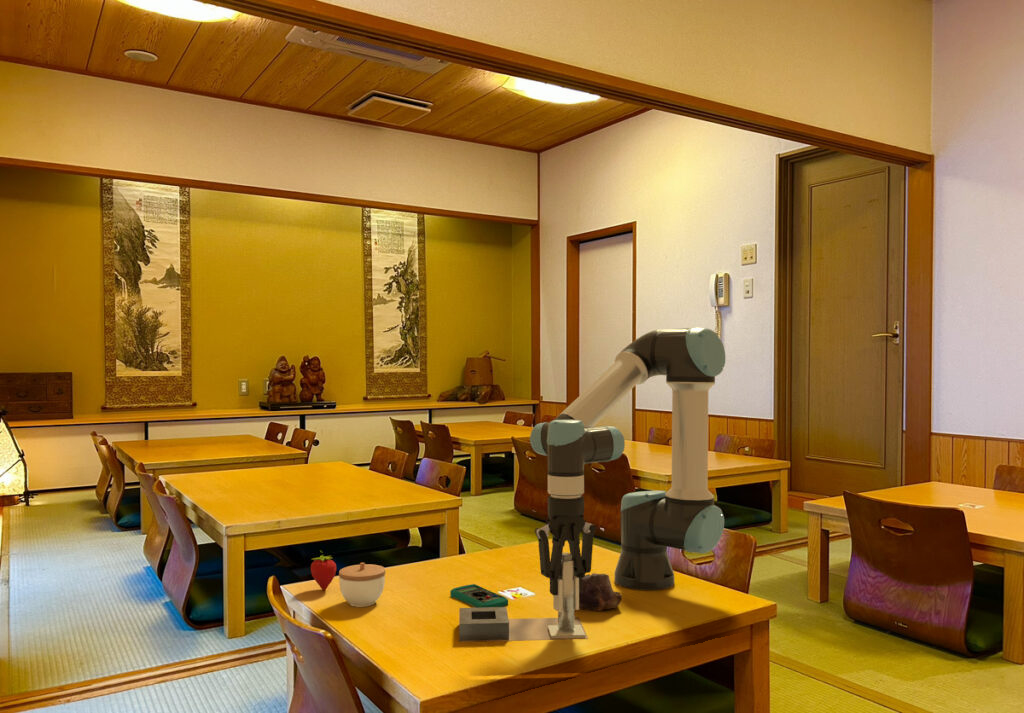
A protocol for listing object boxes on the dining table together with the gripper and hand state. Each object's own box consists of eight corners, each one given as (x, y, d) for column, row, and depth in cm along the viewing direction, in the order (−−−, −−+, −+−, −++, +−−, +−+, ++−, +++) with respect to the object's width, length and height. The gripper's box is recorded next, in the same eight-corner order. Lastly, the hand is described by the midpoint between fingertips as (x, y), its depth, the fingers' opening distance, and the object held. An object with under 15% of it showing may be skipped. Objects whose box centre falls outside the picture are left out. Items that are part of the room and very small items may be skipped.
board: (578, 620, 168) (578, 617, 168) (588, 641, 155) (588, 638, 155) (459, 622, 166) (459, 620, 166) (459, 644, 154) (459, 641, 154)
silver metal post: (577, 629, 157) (577, 554, 158) (562, 631, 156) (562, 556, 156) (569, 624, 161) (569, 551, 161) (555, 626, 159) (554, 552, 159)
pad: (580, 627, 162) (580, 624, 162) (585, 637, 156) (585, 634, 156) (547, 628, 161) (547, 625, 161) (551, 638, 155) (551, 635, 155)
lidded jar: (394, 602, 181) (394, 562, 181) (356, 613, 173) (356, 571, 173) (367, 593, 188) (367, 555, 188) (329, 603, 180) (329, 563, 180)
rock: (588, 605, 182) (559, 614, 175) (584, 568, 183) (555, 575, 176) (627, 608, 174) (599, 618, 167) (623, 570, 175) (594, 577, 168)
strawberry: (319, 595, 186) (319, 554, 186) (305, 589, 192) (305, 548, 192) (341, 591, 190) (341, 550, 190) (327, 584, 196) (327, 545, 196)
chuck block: (506, 622, 165) (506, 607, 165) (509, 639, 155) (509, 622, 155) (459, 624, 164) (459, 608, 164) (459, 640, 154) (459, 623, 154)
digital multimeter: (484, 616, 172) (484, 603, 172) (449, 599, 184) (449, 587, 184) (510, 610, 177) (510, 597, 177) (474, 594, 189) (474, 582, 189)
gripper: (591, 489, 165) (591, 598, 165) (522, 495, 159) (523, 608, 159) (609, 495, 158) (609, 609, 158) (538, 501, 152) (538, 619, 152)
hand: (566, 608), depth 158 cm, fingers closed on silver metal post, 3 cm apart
